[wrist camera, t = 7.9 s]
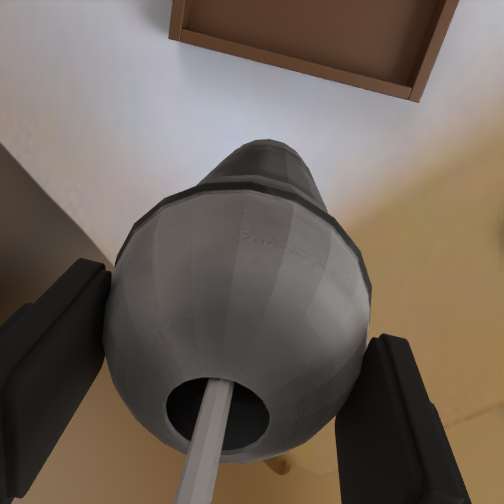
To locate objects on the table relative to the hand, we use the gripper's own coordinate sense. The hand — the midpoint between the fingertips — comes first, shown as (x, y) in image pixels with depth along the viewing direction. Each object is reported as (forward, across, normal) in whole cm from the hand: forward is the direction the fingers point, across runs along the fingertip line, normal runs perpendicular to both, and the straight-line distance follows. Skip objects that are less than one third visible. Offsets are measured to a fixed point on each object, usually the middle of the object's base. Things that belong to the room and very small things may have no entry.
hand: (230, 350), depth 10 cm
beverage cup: (+14, 0, 0) cm, 14 cm away
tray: (+26, 0, -10) cm, 28 cm away
